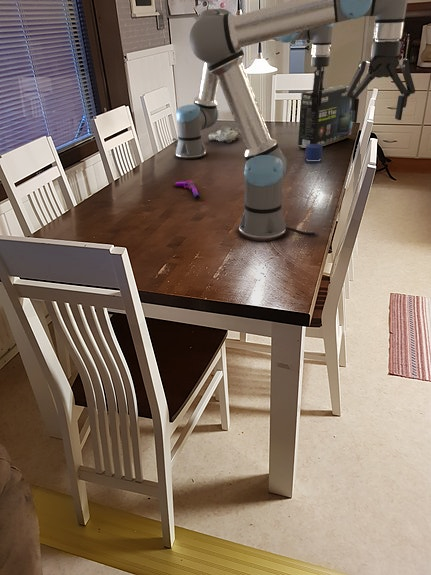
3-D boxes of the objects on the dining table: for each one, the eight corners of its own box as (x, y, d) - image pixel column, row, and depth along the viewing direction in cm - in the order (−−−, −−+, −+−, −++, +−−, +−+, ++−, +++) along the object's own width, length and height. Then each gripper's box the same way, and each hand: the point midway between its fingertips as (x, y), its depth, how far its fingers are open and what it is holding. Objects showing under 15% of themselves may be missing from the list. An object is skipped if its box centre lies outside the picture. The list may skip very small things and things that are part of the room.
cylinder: (319, 158, 220) (321, 143, 216) (322, 163, 213) (323, 147, 210) (303, 159, 220) (304, 144, 217) (306, 163, 214) (307, 148, 210)
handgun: (174, 185, 194) (174, 180, 193) (192, 183, 195) (192, 178, 194) (181, 201, 176) (180, 197, 175) (200, 199, 177) (200, 194, 176)
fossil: (231, 137, 247) (212, 119, 250) (221, 153, 253) (203, 136, 256) (247, 135, 260) (230, 119, 264) (237, 151, 267) (220, 135, 270)
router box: (314, 151, 231) (318, 94, 217) (296, 148, 237) (299, 92, 224) (352, 138, 251) (358, 85, 238) (335, 135, 258) (340, 83, 245)
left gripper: (327, 59, 183) (321, 114, 194) (332, 53, 203) (327, 104, 214) (308, 58, 185) (303, 114, 196) (315, 53, 205) (311, 103, 216)
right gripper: (424, 37, 131) (410, 115, 142) (338, 41, 129) (331, 120, 140) (437, 39, 124) (422, 120, 135) (347, 43, 123) (339, 125, 134)
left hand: (316, 109), depth 205 cm, fingers open, 13 cm apart
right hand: (375, 120), depth 138 cm, fingers open, 13 cm apart
